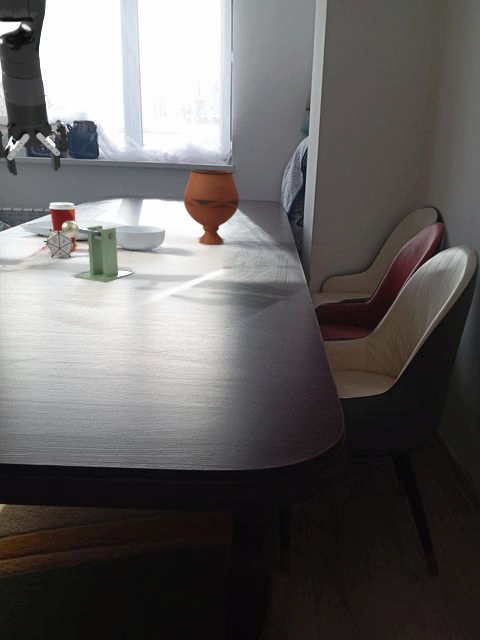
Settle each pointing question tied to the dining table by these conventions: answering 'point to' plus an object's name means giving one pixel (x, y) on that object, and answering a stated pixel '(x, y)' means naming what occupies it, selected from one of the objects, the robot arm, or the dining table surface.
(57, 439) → the dining table surface
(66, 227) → the lever
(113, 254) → the bracket
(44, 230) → the square plate
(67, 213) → the paper cup
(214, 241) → the goblet
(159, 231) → the cereal bowl
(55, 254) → the game die
